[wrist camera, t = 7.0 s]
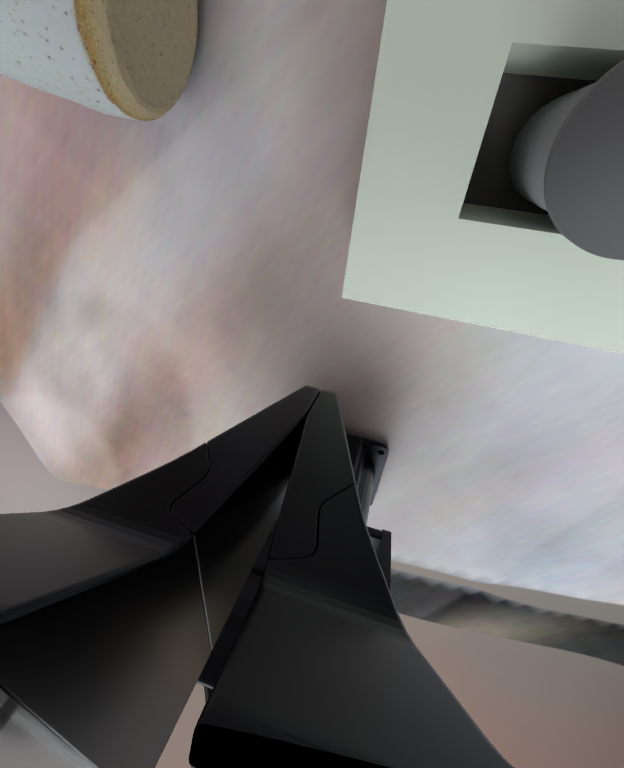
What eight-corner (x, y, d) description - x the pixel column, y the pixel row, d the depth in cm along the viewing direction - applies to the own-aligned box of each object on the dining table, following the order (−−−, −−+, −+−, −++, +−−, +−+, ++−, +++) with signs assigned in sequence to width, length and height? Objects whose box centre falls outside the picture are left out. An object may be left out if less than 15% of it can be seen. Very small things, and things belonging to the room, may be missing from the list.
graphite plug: (592, 220, 14) (709, 274, 8) (484, 204, 15) (518, 244, 9) (661, 85, 12) (891, 25, 6) (528, 75, 13) (614, 9, 7)
